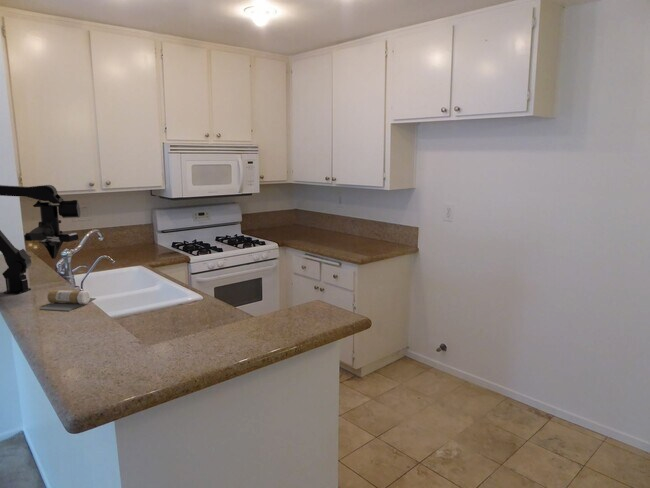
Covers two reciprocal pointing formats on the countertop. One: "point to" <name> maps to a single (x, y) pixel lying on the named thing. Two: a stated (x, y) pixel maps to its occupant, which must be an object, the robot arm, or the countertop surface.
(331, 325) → the countertop surface
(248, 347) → the countertop surface
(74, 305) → the mat
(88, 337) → the countertop surface
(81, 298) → the sprinkles bottle
